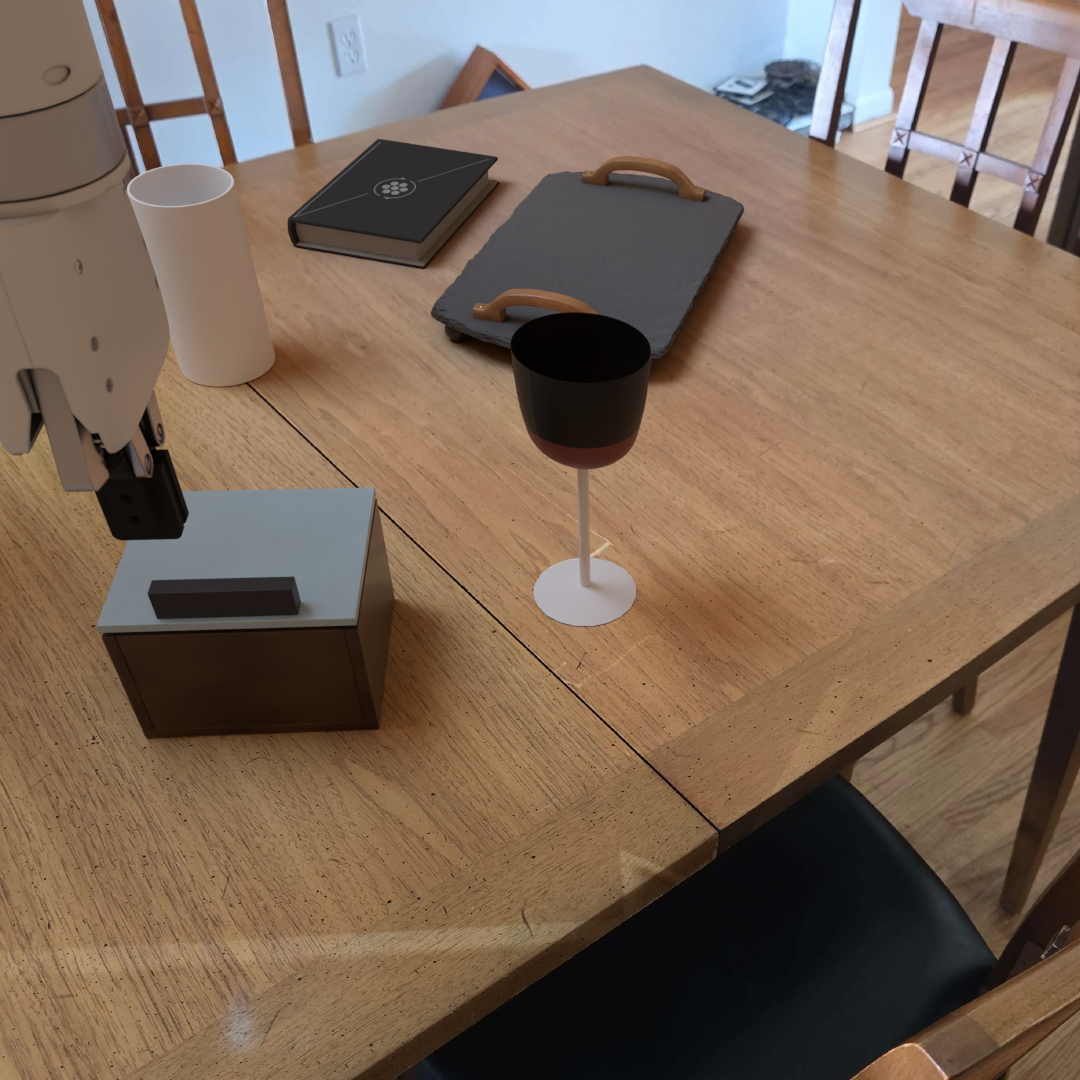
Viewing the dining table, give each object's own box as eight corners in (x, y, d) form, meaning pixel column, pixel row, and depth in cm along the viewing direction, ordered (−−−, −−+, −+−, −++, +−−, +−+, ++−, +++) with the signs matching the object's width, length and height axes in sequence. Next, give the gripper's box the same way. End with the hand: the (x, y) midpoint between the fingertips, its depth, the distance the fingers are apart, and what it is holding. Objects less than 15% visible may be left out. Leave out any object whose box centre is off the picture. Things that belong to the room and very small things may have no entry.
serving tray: (655, 400, 102) (657, 337, 98) (413, 354, 106) (404, 291, 102) (752, 217, 129) (757, 160, 124) (555, 185, 132) (553, 129, 128)
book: (379, 164, 134) (375, 137, 132) (500, 183, 132) (498, 156, 130) (290, 246, 120) (284, 218, 117) (424, 269, 117) (420, 240, 115)
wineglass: (560, 541, 88) (551, 299, 74) (662, 578, 86) (673, 335, 72) (505, 603, 83) (484, 357, 69) (611, 644, 81) (613, 397, 67)
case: (145, 738, 73) (100, 637, 67) (185, 603, 82) (149, 502, 76) (379, 729, 75) (357, 629, 68) (394, 598, 83) (377, 498, 77)
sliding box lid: (98, 633, 67) (84, 600, 65) (148, 498, 75) (136, 466, 74) (356, 625, 68) (349, 592, 66) (376, 494, 77) (370, 462, 75)
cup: (160, 365, 103) (103, 187, 92) (233, 328, 108) (188, 154, 96) (222, 397, 100) (172, 217, 89) (294, 358, 105) (256, 182, 93)
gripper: (-31, 61, 47) (110, 440, 60) (-188, 228, 37) (24, 641, 50) (160, 63, 48) (258, 437, 61) (59, 227, 37) (203, 635, 51)
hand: (152, 528), depth 55 cm, fingers closed
